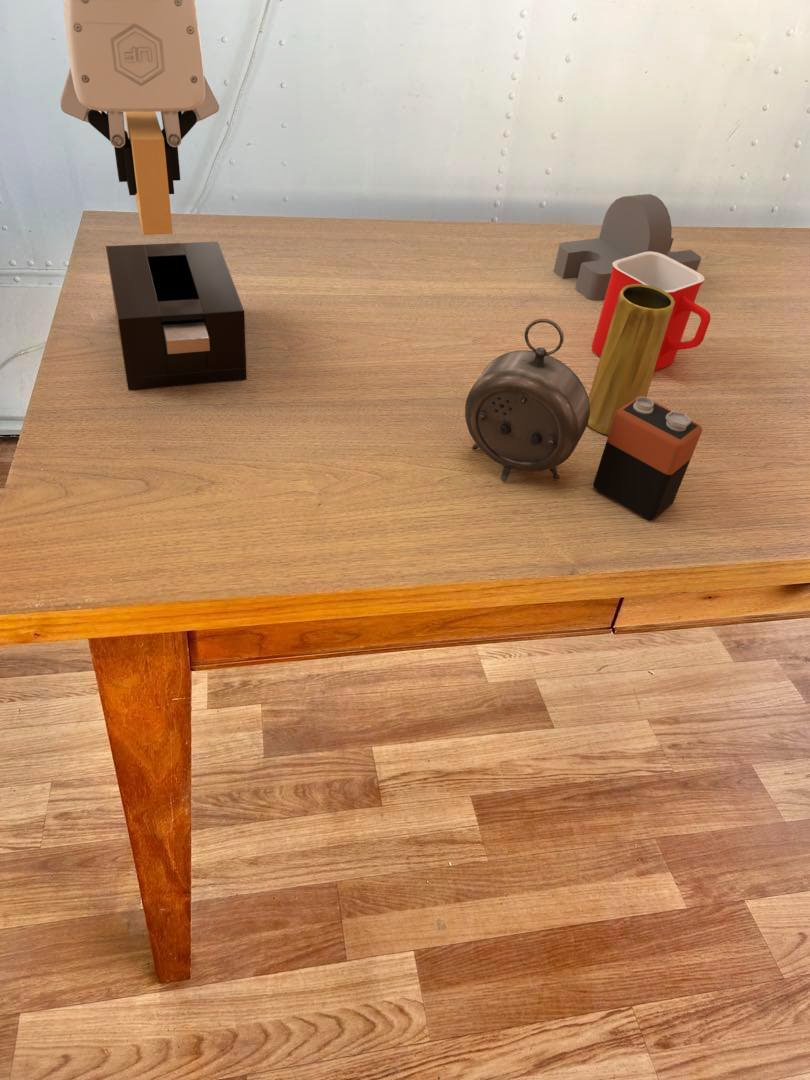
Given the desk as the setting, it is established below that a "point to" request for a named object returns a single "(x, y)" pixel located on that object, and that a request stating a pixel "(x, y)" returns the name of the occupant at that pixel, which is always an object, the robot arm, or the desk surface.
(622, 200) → the bracket
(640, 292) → the vase
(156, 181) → the toast
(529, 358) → the alarm clock
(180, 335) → the lever
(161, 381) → the toaster
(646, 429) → the battery
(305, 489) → the desk surface
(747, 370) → the desk surface
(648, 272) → the mug
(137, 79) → the robot arm
